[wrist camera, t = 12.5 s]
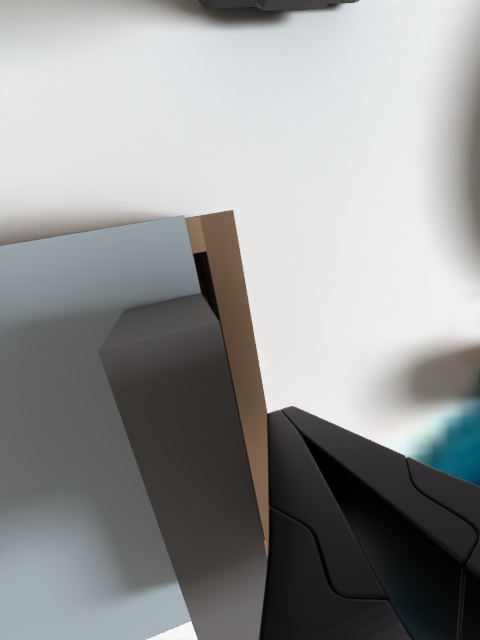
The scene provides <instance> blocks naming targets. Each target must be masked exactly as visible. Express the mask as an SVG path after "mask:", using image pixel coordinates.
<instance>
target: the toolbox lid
mask: <svg viewBox="0 0 480 640" xmlns="http://www.w3.org/2000/svg"><path fill="white" fill-rule="evenodd" d="M267 559H268V558H267V553H266V548H265V543H264V538H263V533H262V528H261V524H260V519H259V514H258V509H257V504H256V499H255V494H254V489H253V484H252V479H251V474H250V470H249V465H248V460H247V455H246V450H245V445H244V440H243V435H242V430H241V425H240V421H239V416H238V411H237V406H236V401H235V396H234V391H233V386H232V381H231V376H230V372H229V367H228V362H227V357H226V352H225V347H224V342H223V337H222V332H221V327H220V322H219V321H218V319H217V318H216V316H215V314H214V313H213V311H212V310H211V308H210V307H209V305H208V303H207V302H206V300H205V299H204V297H203V295H202V294H201V290H200V286H199V281H198V277H197V272H196V267H195V263H194V258H193V254H192V249H191V244H190V240H189V235H188V230H187V226H186V221H185V217H184V215H183V216H177V217H171V218H165V219H159V220H153V221H147V222H141V223H135V224H129V225H123V226H117V227H111V228H105V229H99V230H93V231H87V232H81V233H75V234H69V235H63V236H57V237H51V238H45V239H39V240H33V241H27V242H21V243H15V244H9V245H3V246H0V640H146V639H148V638H151V637H153V636H156V635H158V634H160V633H163V632H165V631H168V630H170V629H173V628H175V627H177V626H180V625H182V624H185V623H187V622H189V621H192V624H193V627H194V630H195V632H196V635H197V638H198V640H259V633H260V624H261V616H262V607H263V599H264V590H265V582H266V571H267Z"/></svg>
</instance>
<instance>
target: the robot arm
mask: <svg viewBox="0 0 480 640" xmlns="http://www.w3.org/2000/svg"><path fill="white" fill-rule="evenodd" d="M199 1H200V3H201V4H202V5H204V6H205V7H206V8H211V9H218V8H241V7H259V8H260V9H262V10H263V11H272V10H295V9H317V8H325V7H327V6H328V4H336V3H355V2H358V1H359V0H199ZM267 451H268V504H269V510H268V514H269V539H268V559H267V571H266V582H265V590H264V599H263V607H262V616H261V624H260V633H259V640H480V486H478V485H475V484H472V483H470V482H467V481H465V480H462V479H459V478H457V477H454V476H451V475H449V474H447V473H444V472H442V471H440V470H437V469H435V468H432V467H430V466H428V465H425V464H423V463H421V462H418V461H416V460H414V459H412V458H409V457H407V458H406V457H405V456H404V455H402V454H400V453H398V452H396V451H393V450H391V449H389V448H387V447H384V446H382V445H380V444H378V443H375V442H373V441H371V440H369V439H366V438H364V437H362V436H360V435H357V434H355V433H353V432H351V431H348V430H346V429H344V428H342V427H339V426H337V425H335V424H333V423H330V422H328V421H326V420H324V419H321V418H319V417H317V416H315V415H312V414H310V413H308V412H306V411H303V410H301V409H299V408H297V407H294V406H290V407H287V408H284V409H281V410H277V411H274V412H271V413H268V414H267Z"/></svg>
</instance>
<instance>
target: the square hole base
mask: <svg viewBox="0 0 480 640" xmlns="http://www.w3.org/2000/svg"><path fill="white" fill-rule="evenodd" d="M185 221H186V226H187V230H188V235H189V240H190V244H191V249H192V254H193V258H194V263H195V267H196V272H197V277H198V281H199V286H200V290H201V294H202V295H203V297H204V299H205V300H206V302H207V303H208V305H209V307H210V308H211V310H212V311H213V313H214V314H215V316H216V318H217V319H218V321H219V322H220V327H221V332H222V337H223V342H224V347H225V352H226V357H227V362H228V367H229V372H230V376H231V381H232V386H233V391H234V396H235V401H236V406H237V411H238V416H239V421H240V425H241V430H242V435H243V440H244V445H245V450H246V455H247V460H248V465H249V470H250V474H251V479H252V484H253V489H254V494H255V499H256V504H257V509H258V514H259V519H260V524H261V528H262V533H263V538H264V543H265V548H266V553H267V557H268V539H269V514H268V510H269V504H268V451H267V409H266V403H265V397H264V391H263V385H262V379H261V373H260V367H259V361H258V355H257V350H256V344H255V338H254V332H253V326H252V320H251V314H250V308H249V302H248V296H247V290H246V284H245V278H244V272H243V267H242V261H241V255H240V249H239V243H238V237H237V231H236V225H235V219H234V213H233V210H231V211H225V212H219V213H213V214H207V215H201V216H195V217H189V218H185Z"/></svg>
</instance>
